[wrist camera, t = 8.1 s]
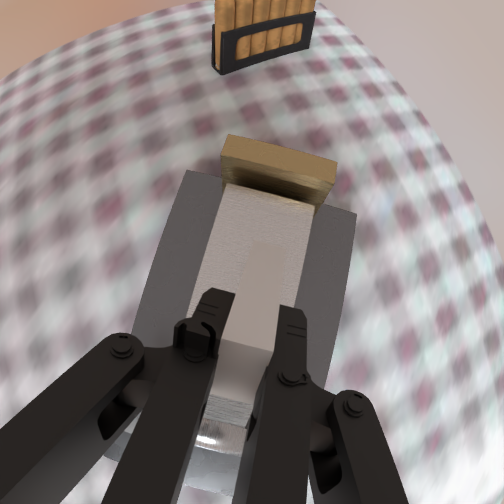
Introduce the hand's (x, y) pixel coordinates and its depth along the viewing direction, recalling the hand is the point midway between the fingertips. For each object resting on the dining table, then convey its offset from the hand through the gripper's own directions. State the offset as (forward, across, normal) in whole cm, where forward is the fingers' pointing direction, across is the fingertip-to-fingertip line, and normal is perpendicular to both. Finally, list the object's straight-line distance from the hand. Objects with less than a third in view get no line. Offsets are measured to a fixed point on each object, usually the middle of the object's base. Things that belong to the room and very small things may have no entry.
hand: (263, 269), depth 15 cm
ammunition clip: (+20, -5, +12) cm, 24 cm away
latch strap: (-5, 0, -7) cm, 9 cm away
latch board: (+2, -1, -7) cm, 7 cm away
